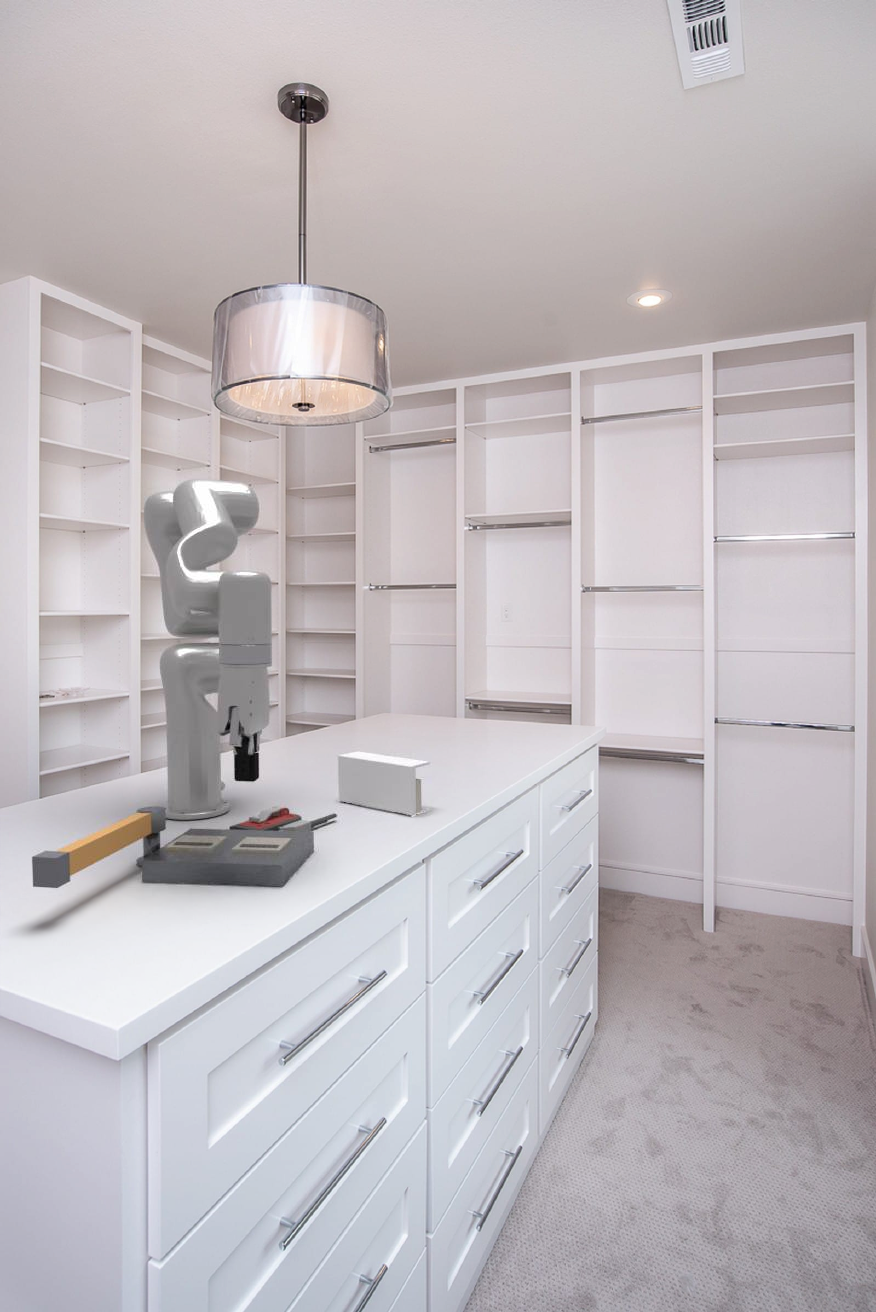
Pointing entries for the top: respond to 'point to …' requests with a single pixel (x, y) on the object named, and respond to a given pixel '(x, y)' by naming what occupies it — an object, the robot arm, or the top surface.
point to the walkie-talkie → (279, 821)
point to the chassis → (229, 857)
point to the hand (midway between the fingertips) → (246, 779)
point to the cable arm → (95, 847)
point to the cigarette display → (380, 782)
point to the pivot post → (149, 846)
